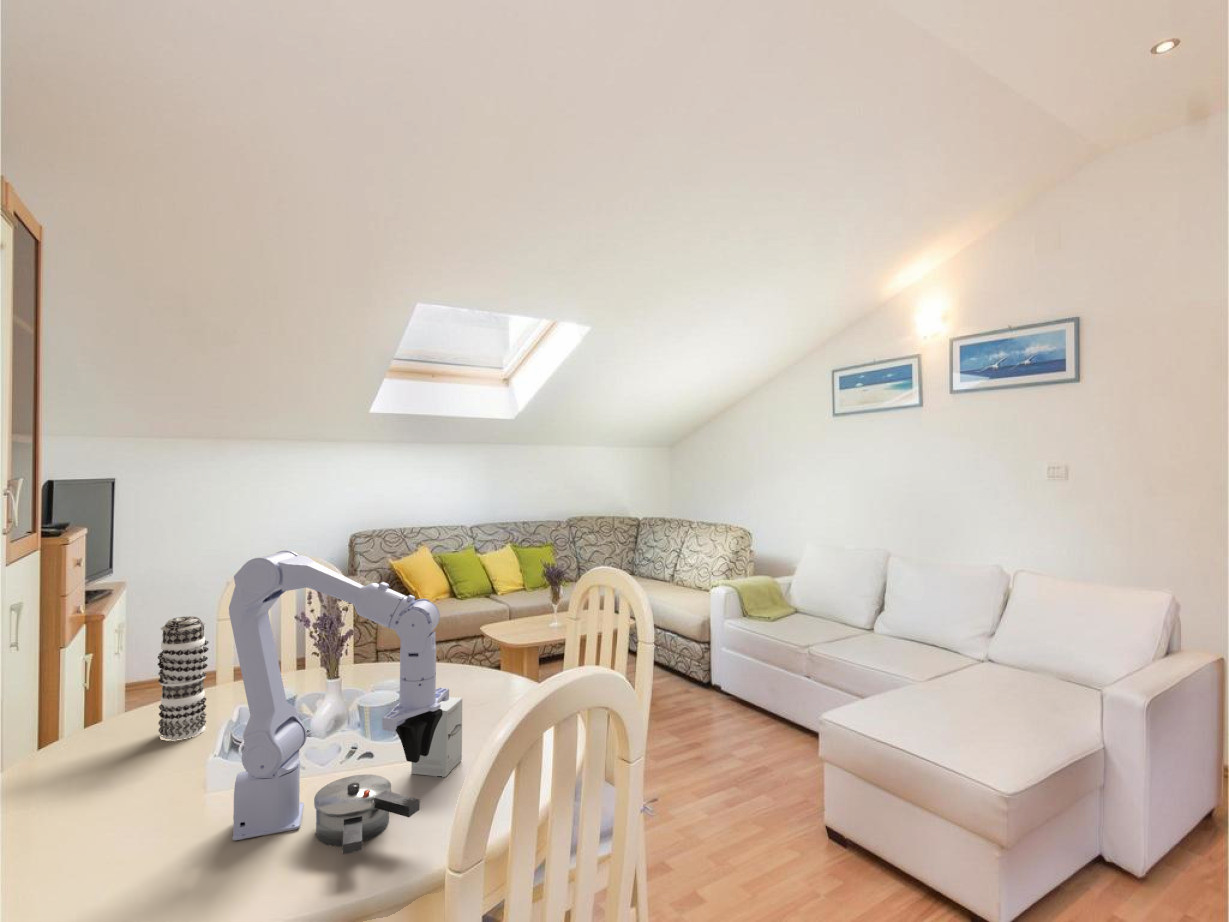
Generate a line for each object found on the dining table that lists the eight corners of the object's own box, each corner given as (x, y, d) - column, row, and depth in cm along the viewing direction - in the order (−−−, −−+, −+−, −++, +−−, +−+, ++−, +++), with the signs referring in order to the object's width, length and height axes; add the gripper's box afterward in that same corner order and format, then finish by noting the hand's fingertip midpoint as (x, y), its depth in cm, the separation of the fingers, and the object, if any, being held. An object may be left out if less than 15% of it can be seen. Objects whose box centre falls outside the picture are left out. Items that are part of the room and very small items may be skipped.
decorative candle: (216, 730, 141) (216, 617, 141) (168, 746, 133) (169, 626, 133) (195, 721, 146) (196, 612, 146) (149, 736, 138) (150, 620, 138)
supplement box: (446, 778, 120) (446, 711, 120) (410, 774, 121) (410, 707, 121) (463, 760, 127) (463, 697, 127) (429, 757, 129) (429, 694, 129)
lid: (297, 806, 101) (297, 795, 101) (354, 773, 112) (354, 763, 112) (387, 833, 94) (387, 821, 94) (438, 795, 104) (438, 784, 104)
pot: (310, 880, 90) (310, 849, 90) (318, 815, 107) (318, 788, 107) (392, 863, 94) (392, 832, 94) (387, 803, 111) (387, 777, 111)
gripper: (408, 693, 97) (407, 782, 97) (463, 665, 111) (463, 743, 111) (372, 687, 100) (371, 774, 100) (430, 661, 114) (429, 737, 113)
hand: (417, 757), depth 106 cm, fingers closed
